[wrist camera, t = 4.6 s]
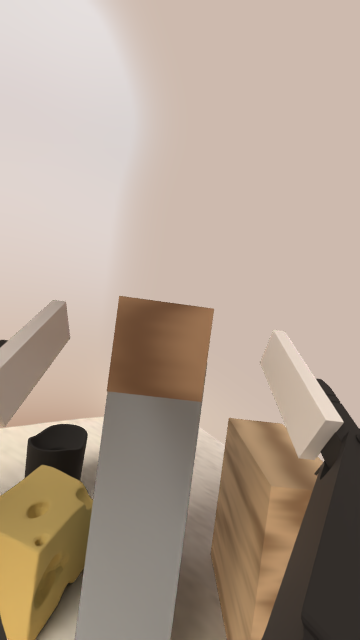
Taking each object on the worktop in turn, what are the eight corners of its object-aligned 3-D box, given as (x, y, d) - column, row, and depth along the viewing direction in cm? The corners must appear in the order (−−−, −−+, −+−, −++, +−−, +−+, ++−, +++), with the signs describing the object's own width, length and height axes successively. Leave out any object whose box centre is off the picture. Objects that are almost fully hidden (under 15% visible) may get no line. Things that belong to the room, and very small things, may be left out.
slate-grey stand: (66, 706, 20) (112, 351, 20) (107, 545, 34) (135, 337, 34) (161, 709, 20) (207, 362, 20) (163, 549, 34) (190, 344, 34)
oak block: (240, 712, 21) (271, 486, 21) (210, 553, 35) (228, 418, 35) (328, 715, 21) (358, 494, 21) (263, 557, 35) (281, 423, 35)
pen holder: (86, 500, 41) (94, 443, 41) (22, 523, 36) (30, 457, 35) (73, 469, 49) (80, 420, 49) (18, 483, 43) (26, 428, 43)
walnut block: (106, 391, 10) (119, 295, 10) (149, 338, 35) (153, 311, 35) (201, 402, 10) (213, 308, 10) (176, 341, 35) (180, 314, 35)
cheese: (94, 557, 32) (104, 484, 32) (22, 666, 22) (36, 558, 22) (34, 528, 35) (43, 461, 35) (-56, 613, 25) (-43, 518, 25)
